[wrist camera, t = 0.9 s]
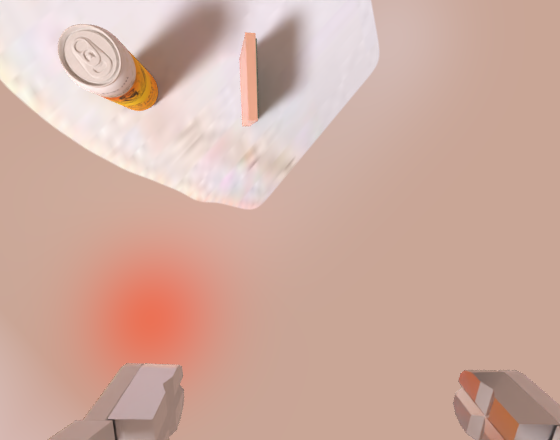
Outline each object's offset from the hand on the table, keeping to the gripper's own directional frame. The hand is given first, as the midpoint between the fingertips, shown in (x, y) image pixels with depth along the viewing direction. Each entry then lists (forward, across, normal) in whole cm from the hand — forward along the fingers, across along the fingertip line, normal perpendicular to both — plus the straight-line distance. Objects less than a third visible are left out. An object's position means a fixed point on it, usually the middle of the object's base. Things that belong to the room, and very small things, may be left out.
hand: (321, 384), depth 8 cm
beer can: (+37, +23, -15) cm, 46 cm away
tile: (+40, +7, -16) cm, 43 cm away
